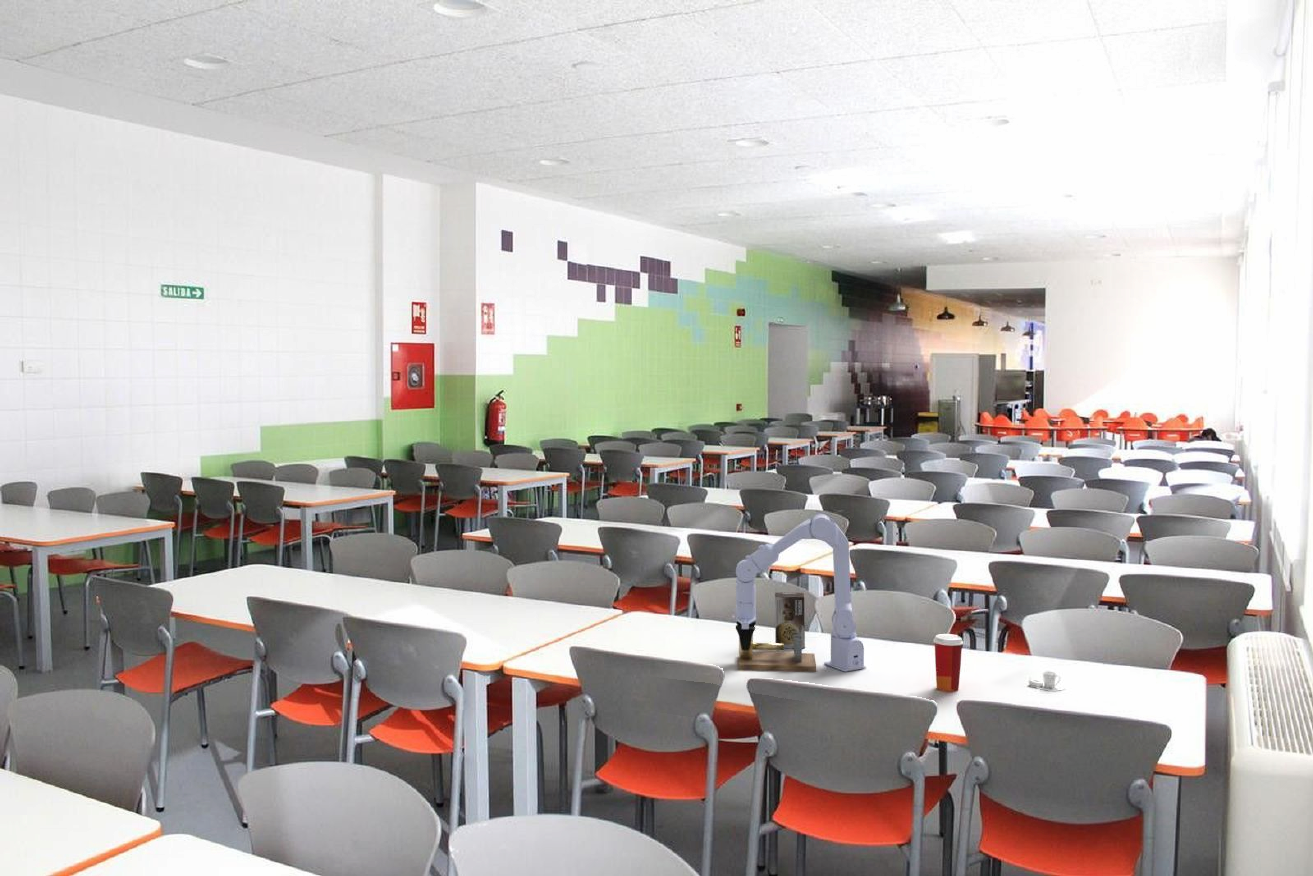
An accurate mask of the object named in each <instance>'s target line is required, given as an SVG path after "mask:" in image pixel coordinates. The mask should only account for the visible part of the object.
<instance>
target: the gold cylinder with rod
mask: <svg viewBox="0 0 1313 876" xmlns="http://www.w3.org/2000/svg"><path fill="white" fill-rule="evenodd" d="M754 651H783V652H784V651H785V648H784V644H782V643H775V642H754V634H753V635H752V638H751V644H750V649H749V650H742V649H741V643H740V638H739V637H738V658H739V657H740V658H743V659H750V658H753V652H754Z"/></svg>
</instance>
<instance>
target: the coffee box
mask: <svg viewBox="0 0 1313 876" xmlns="http://www.w3.org/2000/svg"><path fill="white" fill-rule="evenodd" d="M805 604H806V603H805V594H804V592H775V593H774V617H775V618H774V620H775V621H774V622H775V623H774V624H775V628H774V629H775V631H774V633H775V634H774V635H775V637H774V638H775V639H774V640H775V642H774V643H782V644H784V649H789V648H790V649H794V632H795V633H801V637H802V649H805V648H806V643H805V642H806V635H805V634H806V631H805V629H806V628H805V624H806V622H805V619H806V618H805V617H806V616H805V615H806V614H805V611H806V610H805V609H806V608H805Z"/></svg>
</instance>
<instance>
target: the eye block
mask: <svg viewBox="0 0 1313 876" xmlns="http://www.w3.org/2000/svg"><path fill="white" fill-rule="evenodd" d="M802 649H803V648H802V637H801V633H795V632H794V648H793V652H775V651H774V652H771V651H769V652H767V651H765V652H764V651H753V658H750V659H743V658H740V657H739V656H738V662H737V670H742V671H743V670H744V671H745V670H746V671H771V672H772V671H774V672H776V671H777V672H779V671H780V672H781V671H782V672H810V673H811V672H812V673H813V672H815V673H816V672H817V661H816V657H815V653H808V652H806V653H804V652H803V650H802Z"/></svg>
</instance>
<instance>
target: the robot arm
mask: <svg viewBox="0 0 1313 876" xmlns="http://www.w3.org/2000/svg"><path fill="white" fill-rule="evenodd" d="M812 536H813V537H814V538H815V539H817V540H819V541H822V542H825V543H826V544H827V545H828V546H829V547H831V549H832V560H833V585H834V587H833V589H834V593H833V594H834V612H833V614H832V616H831V624H832V625H833V627H832V628H833V630H832V631H831V632H830V661H824V662H823V664H824V665H826V666H828V667H832V668H834V669H836V670H839V671H843V672H850V671H851V672H852V671H856V670H862V669H866V668H867V665H865V664H864V662H865V661H864V660H865V659H864V658H865V657H864V656H865V647H864V644H863V642H862V641H861V640H860V639H858V637H857V632H856V628H857V624H856V621H855V620H854V615H853V609H852V608H853V607H852V599H851V598H852V597H851V596H852V595H851V590H852V589H851V571H850V570H851V567H850V565H851V563H850V542H849V540H848V538H847V536H846V535H845V534H844V532H843V531H842V529H841V528H840V526H839V525H838V524H837V523H836V522H835V520H834V519H832V518H831V517H830V516H828V515H826V514H824V513H816V514H815V515H813V516H812V517H811V518H808V519H806V520H804V521H803V522H801V523H799V524H798V525H796V527H794V528H793V529H792V530H790V531H788V532H787V533H786V534H785V535H784V536H782V537H781V538H779V539H778V540H777V541H775V543H773V544H770V543H766V544H764V545H763V544H760V545H759V546H758V549H757V550H756V551H754V552H753V553H751V554H750V555H748V554H747V555H746V556H745V559H742V560H740V561H739V562H738V563H737V565H736V568H735V575H736V582H735V583H736V586H735V615H731V620H734V621H735V620H736V622H735V623H736V625H735V630H736V632H737V634H738V639H739V638H740V643H741V649H742V650H749V649H750V644H751V638H752V635H753V636H754V632H755V631H756V624H757V623H756V622H757V621H756V620H757V615H756V614H757V612H756V611H757V609H756V607H757V605H756V604H757V602H756V600H757V597H756V595H757V592H756V590H757V588H756V587H757V586H756V577H757V573H760V574H761V572H763V571H766V569H768V568H769V567H770V566H772V565H774V564H775V563H776V562H778V560H779V556H780V554H781V553H783V552H784V551H785V550H787V549H789V548H791V547H792V546H793V545H795V544H797V543H798V542H799V541H801V540H812Z"/></svg>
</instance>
